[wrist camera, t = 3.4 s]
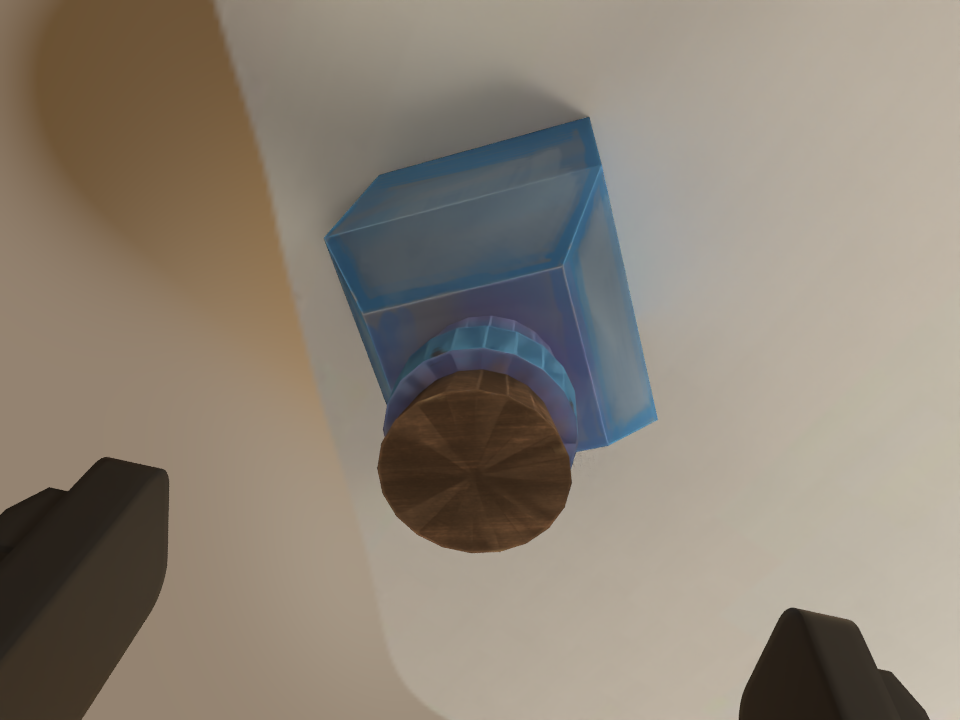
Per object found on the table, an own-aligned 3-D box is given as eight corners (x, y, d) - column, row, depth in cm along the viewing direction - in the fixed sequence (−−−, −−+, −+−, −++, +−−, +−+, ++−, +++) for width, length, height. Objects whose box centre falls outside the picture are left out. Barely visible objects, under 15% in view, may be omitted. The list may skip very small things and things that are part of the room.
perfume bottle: (441, 361, 25) (360, 643, 15) (379, 174, 23) (225, 348, 12) (633, 318, 24) (698, 590, 13) (588, 116, 22) (624, 252, 11)
